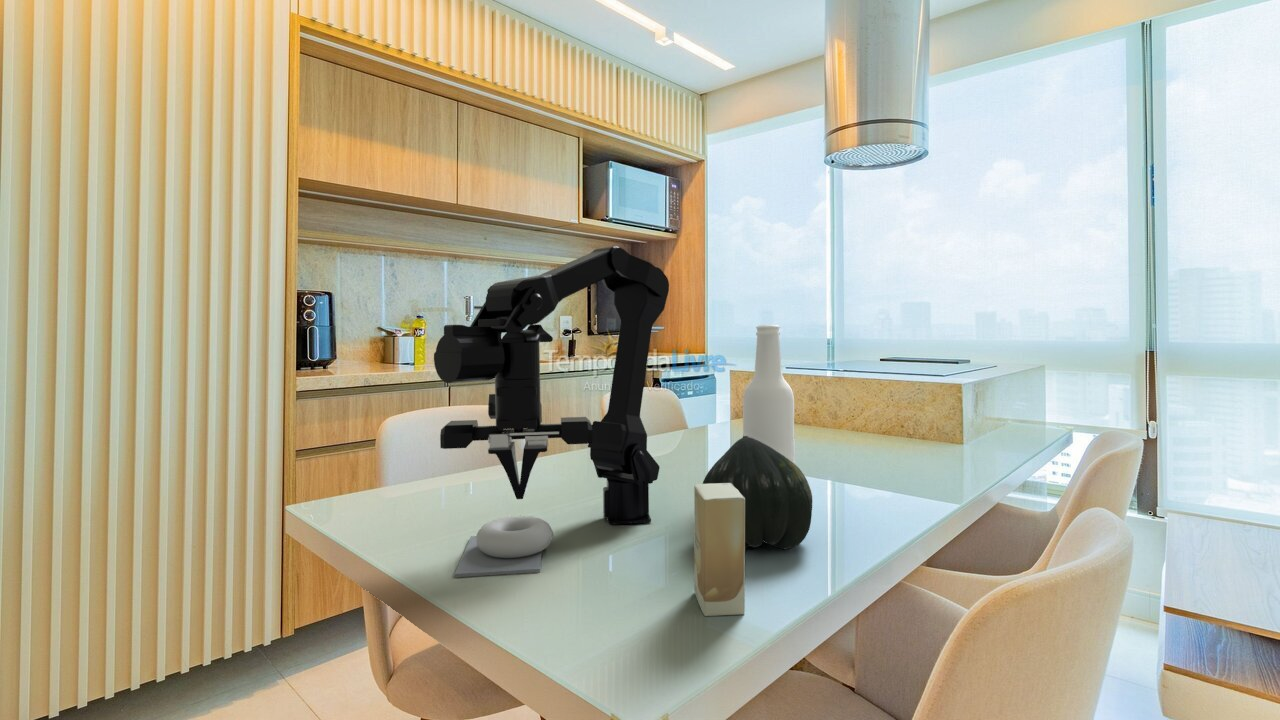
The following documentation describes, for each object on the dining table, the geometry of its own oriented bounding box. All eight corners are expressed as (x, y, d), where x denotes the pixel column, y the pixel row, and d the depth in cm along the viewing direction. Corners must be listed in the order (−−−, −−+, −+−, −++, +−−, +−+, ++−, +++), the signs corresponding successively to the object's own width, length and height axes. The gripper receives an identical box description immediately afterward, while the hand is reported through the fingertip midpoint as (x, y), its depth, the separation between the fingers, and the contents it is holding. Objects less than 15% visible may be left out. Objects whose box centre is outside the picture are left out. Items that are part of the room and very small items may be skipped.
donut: (520, 539, 75) (458, 529, 80) (521, 567, 75) (459, 555, 80) (567, 517, 84) (509, 509, 88) (567, 542, 84) (510, 533, 89)
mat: (542, 535, 88) (542, 532, 88) (540, 572, 75) (539, 568, 75) (471, 539, 87) (470, 536, 87) (454, 577, 73) (454, 574, 73)
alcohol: (794, 490, 112) (793, 325, 111) (794, 503, 103) (794, 324, 102) (744, 488, 114) (743, 326, 113) (741, 501, 105) (740, 325, 104)
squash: (810, 529, 73) (808, 422, 82) (686, 524, 77) (697, 423, 86) (815, 574, 83) (813, 475, 92) (705, 568, 87) (714, 474, 97)
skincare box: (693, 592, 68) (692, 482, 68) (731, 590, 69) (731, 481, 68) (704, 618, 62) (703, 497, 61) (746, 616, 62) (746, 496, 62)
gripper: (587, 373, 89) (588, 481, 89) (453, 375, 86) (455, 486, 87) (591, 378, 78) (593, 501, 78) (438, 381, 75) (441, 508, 76)
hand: (519, 498), depth 80 cm, fingers closed
